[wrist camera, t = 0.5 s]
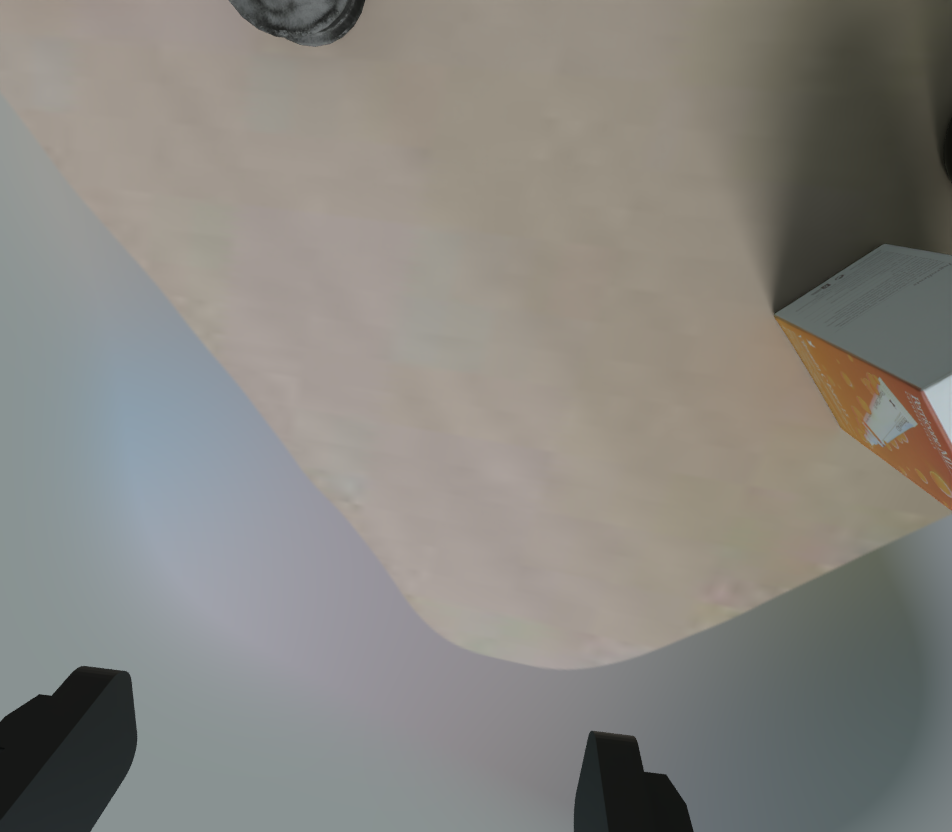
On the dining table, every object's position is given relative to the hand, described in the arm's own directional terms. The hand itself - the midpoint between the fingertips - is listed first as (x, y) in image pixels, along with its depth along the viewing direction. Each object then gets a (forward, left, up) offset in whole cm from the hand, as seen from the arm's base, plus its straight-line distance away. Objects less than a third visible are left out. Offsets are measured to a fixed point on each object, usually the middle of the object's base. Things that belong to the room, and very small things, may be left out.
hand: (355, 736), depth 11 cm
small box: (-14, +16, -26) cm, 34 cm away
